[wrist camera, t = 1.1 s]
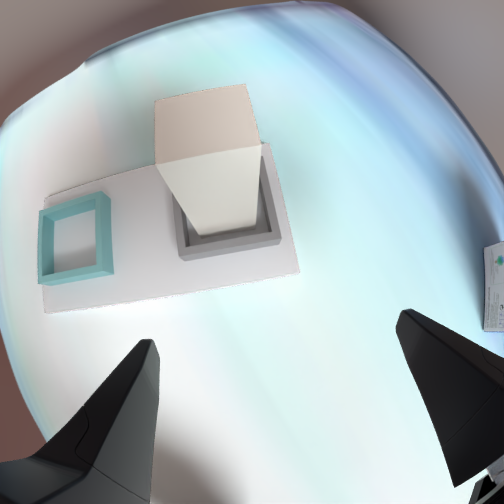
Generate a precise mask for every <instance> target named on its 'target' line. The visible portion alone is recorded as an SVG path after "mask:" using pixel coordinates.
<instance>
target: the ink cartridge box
mask: <svg viewBox="0 0 504 504" xmlns="http://www.w3.org/2000/svg"><path fill="white" fill-rule="evenodd" d="M484 261H485V319H484V332H504V241H502V242H499V243H496V244H494V245H491V246H487V247H484Z"/></svg>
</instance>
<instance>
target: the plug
mask: <svg viewBox="0 0 504 504" xmlns="http://www.w3.org/2000/svg"><path fill="white" fill-rule="evenodd" d="M261 147H262V145H261V141H260V137H259V133H258V129H257V125H256V121H255V117H254V113H253V110H252V106H251V102H250V98H249V95H248V91H247V87H246V84H241V85H233V86H226V87H220V88H213V89H208V90H202V91H197V92H192V93H187V94H182V95H178V96H173V97H169V98H165V99H161V100H157V101H155V166H156V167H157V169H158V170H159V172H160V174H161V175H162V177H163V179H164V180H165V182H166V184H167V185H168V187H169V188H170V190H171V192H172V193H173V195H174V196H175V198H176V200H177V201H178V203H179V204H180V206H181V208H182V209H183V211H184V212H185V214H186V216H187V217H188V219H189V220H190V222H191V223H192V225H193V227H194V228H195V230H196V231H197V233H198V234H199V236H200V237H201V239H202V238H208V237H213V236H219V235H224V234H230V233H235V232H241V231H247V230H252V229H255V227H256V214H257V201H258V187H259V174H260V161H261Z"/></svg>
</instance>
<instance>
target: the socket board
mask: <svg viewBox="0 0 504 504" xmlns="http://www.w3.org/2000/svg"><path fill="white" fill-rule="evenodd" d="M261 145H262V147H261V161H260V174H259V187H258V201H257V214H256V227H255V229H252V230H247V231H241V232H235V233H230V234H224V235H219V236H213V237H208V238H202V239H201V237H200V236H199V234H198V233H197V231H196V230H195V228H194V227H193V225H192V223H191V222H190V220H189V219H188V217H187V216H186V214H185V212H184V211H183V209H182V208H181V206H180V204H179V203H178V201H177V200H176V198H175V196H174V195H173V193H172V192H171V190H170V188H169V187H168V185H167V184H166V182H165V180H164V179H163V177H162V175H161V174H160V172H159V170H158V169H157V167H156V166H155V164H153V165H149V166H145V167H141V168H137V169H133V170H130V171H126V172H122V173H119V174H115V175H112V176H109V177H105V178H102V179H99V180H96V181H92V182H89V183H86V184H83V185H80V186H77V187H74V188H71V189H68V190H66V191H63V192H60V193H57V194H55V195H52V196H49V197H47V198H45V200H44V210H41V211H39V224H38V284H42V285H43V300H44V311H45V313H58V312H67V311H75V310H83V309H90V308H98V307H105V306H113V305H120V304H127V303H134V302H140V301H147V300H154V299H160V298H167V297H173V296H179V295H185V294H192V293H198V292H204V291H209V290H215V289H221V288H227V287H232V286H238V285H244V284H249V283H255V282H260V281H265V280H271V279H276V278H281V277H286V276H292V275H297V274H299V273H300V269H299V265H298V260H297V255H296V251H295V246H294V242H293V237H292V233H291V228H290V224H289V220H288V215H287V211H286V207H285V203H284V199H283V194H282V190H281V186H280V182H279V178H278V174H277V170H276V166H275V162H274V159H273V155H272V151H271V147H270V143H265V144H261Z"/></svg>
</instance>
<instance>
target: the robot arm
mask: <svg viewBox="0 0 504 504" xmlns="http://www.w3.org/2000/svg"><path fill="white" fill-rule="evenodd" d="M396 333H397V336H398V339H399V341H400V344H401V347H402V350H403V353H404V356H405V359H406V361H407V364H408V366H409V369H410V371H411V373H412V375H413V377H414V380H415V382H416V384H417V386H418V389H419V391H420V393H421V396H422V398H423V401H424V403H425V405H426V408H427V410H428V413H429V415H430V418H431V421H432V423H433V426H434V428H435V431H436V434H437V436H438V439H439V442H440V445H441V447H442V451H443V454H444V457H445V460H446V463H447V466H448V469H449V473H450V476H451V479H452V483H453V486H454V488H455V487H457V486H459V485H461V484H462V483H464V482H465V481H467V480H469V479H470V478H472V477H473V476H475V475H476V474H478V473H479V472H481V471H482V470H484V469H485V468H486V470H487V472H488V474H486V475H485V476H484V477H482V478H481V479H480V480H479V481H477V482H476V483H475V486H474V489H473V492H472V495H471V498H470V501H469V504H504V358H502V357H500V356H498V355H496V354H494V353H492V352H491V351H489V350H487V349H485V348H483V347H482V346H479V345H478V344H476V343H474V342H472V341H471V340H469V339H467V338H465V337H463V336H461V335H460V334H458V333H456V332H454V331H452V330H450V329H449V328H447V327H445V326H443V325H441V324H439V323H437V322H436V321H434V320H432V319H430V318H428V317H426V316H424V315H423V314H421V313H419V312H417V311H415V310H413V309H406V310H402V311H401V313H400V316H399V319H398V322H397V324H396ZM159 374H160V357H159V354H158V351H157V348H156V346H155V343H154V341H153V340H152V339H142V340H140V341H139V342H138V343H137V344H136V346H135V347H134V348H133V349H132V350H131V351H130V352H129V353H128V355H127V356H126V357H125V358H124V359H123V360H122V361H121V362H120V364H119V365H118V366H117V367H116V368H115V369H114V370H113V371H112V373H111V374H110V375H109V376H108V377H107V378H106V379H105V381H104V382H103V383H102V384H101V385H100V386H99V387H98V389H97V390H96V391H95V392H94V393H93V394H92V395H91V397H90V398H89V399H88V400H87V401H86V402H85V404H84V406H82V407H81V408H80V409H79V410H78V412H77V413H76V414H75V415H74V416H73V417H72V418H71V419H70V421H69V422H68V423H67V424H66V425H65V426H64V427H63V428H62V429H61V430H60V431H59V432H58V433H57V434H55V435H54V436H53V437H52V438H51V439H50V440H49V441H48V442H47V443H46V444H45V445H44V446H43V447H42V448H41V449H40V450H38V451H37V452H36V453H35V454H33V455H32V456H29V457H27V458H24V459H19V460H13V461H7V462H1V463H0V504H150V503H149V502H150V488H151V473H152V460H153V449H154V439H155V429H156V420H157V412H158V404H159Z"/></svg>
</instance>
